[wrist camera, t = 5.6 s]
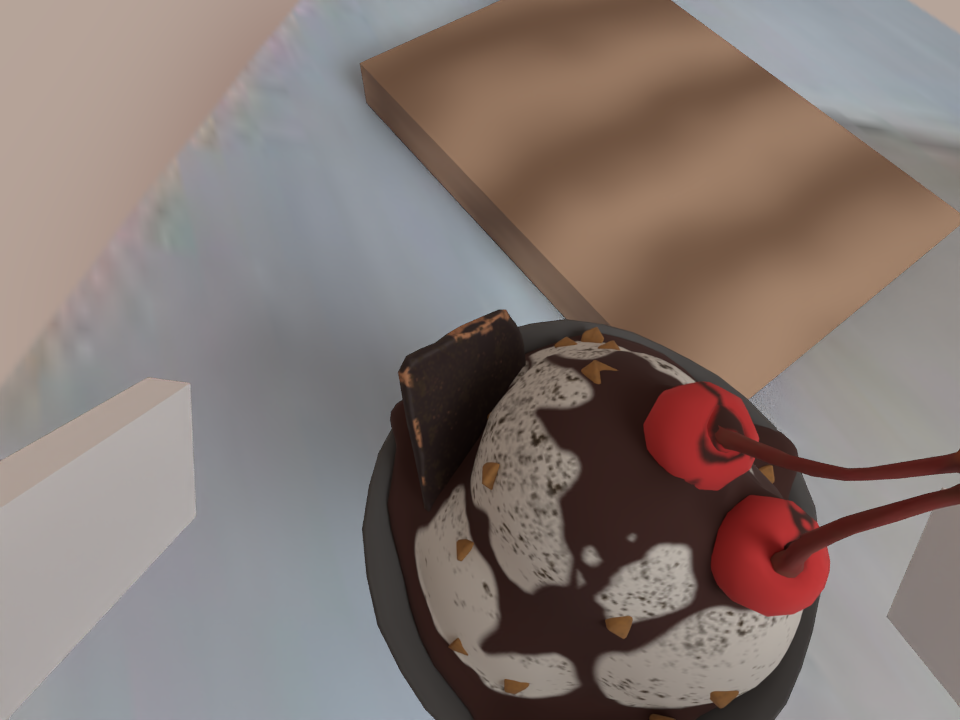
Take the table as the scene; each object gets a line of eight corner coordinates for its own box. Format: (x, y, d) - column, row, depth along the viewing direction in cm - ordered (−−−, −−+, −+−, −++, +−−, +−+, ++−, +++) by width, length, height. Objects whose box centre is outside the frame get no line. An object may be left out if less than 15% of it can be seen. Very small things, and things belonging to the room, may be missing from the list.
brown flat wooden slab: (928, 251, 24) (967, 218, 22) (687, 449, 20) (710, 430, 18) (597, -6, 30) (606, -48, 28) (366, 103, 26) (360, 63, 24)
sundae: (670, 673, 17) (1565, 789, 3) (439, 742, 16) (328, 1314, 2) (594, 454, 19) (903, 21, 6) (394, 502, 19) (224, 122, 5)
